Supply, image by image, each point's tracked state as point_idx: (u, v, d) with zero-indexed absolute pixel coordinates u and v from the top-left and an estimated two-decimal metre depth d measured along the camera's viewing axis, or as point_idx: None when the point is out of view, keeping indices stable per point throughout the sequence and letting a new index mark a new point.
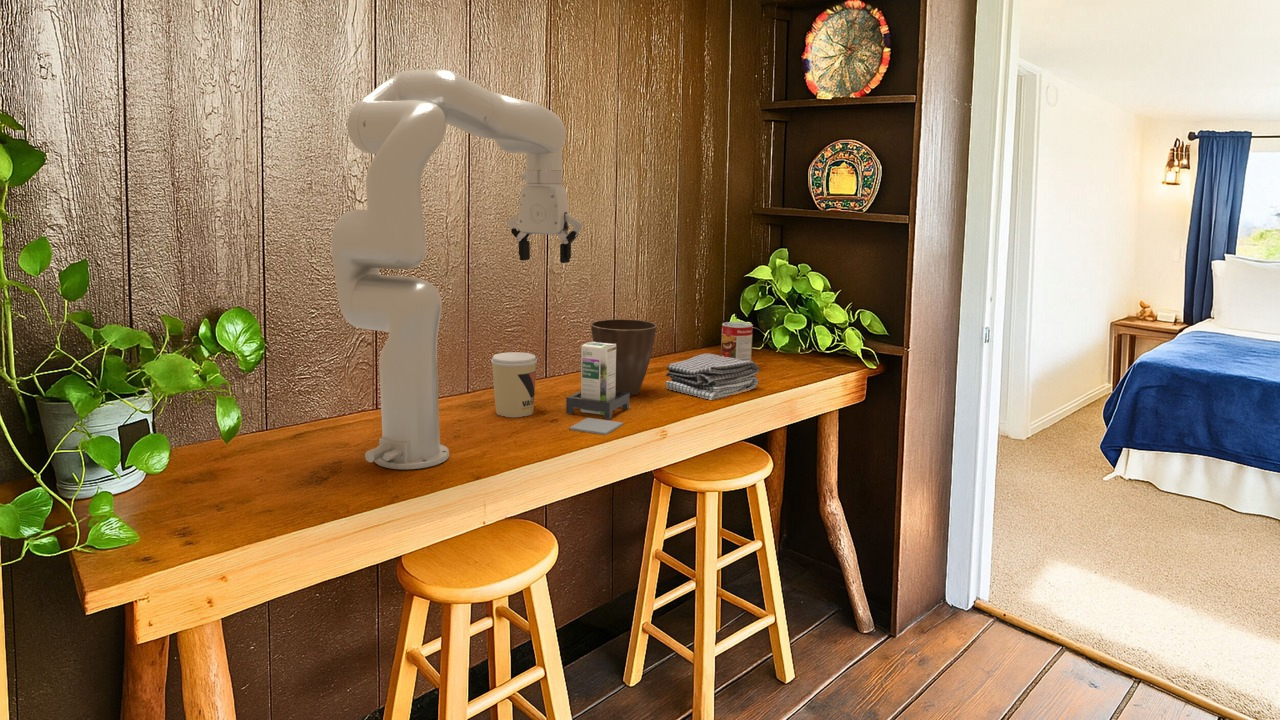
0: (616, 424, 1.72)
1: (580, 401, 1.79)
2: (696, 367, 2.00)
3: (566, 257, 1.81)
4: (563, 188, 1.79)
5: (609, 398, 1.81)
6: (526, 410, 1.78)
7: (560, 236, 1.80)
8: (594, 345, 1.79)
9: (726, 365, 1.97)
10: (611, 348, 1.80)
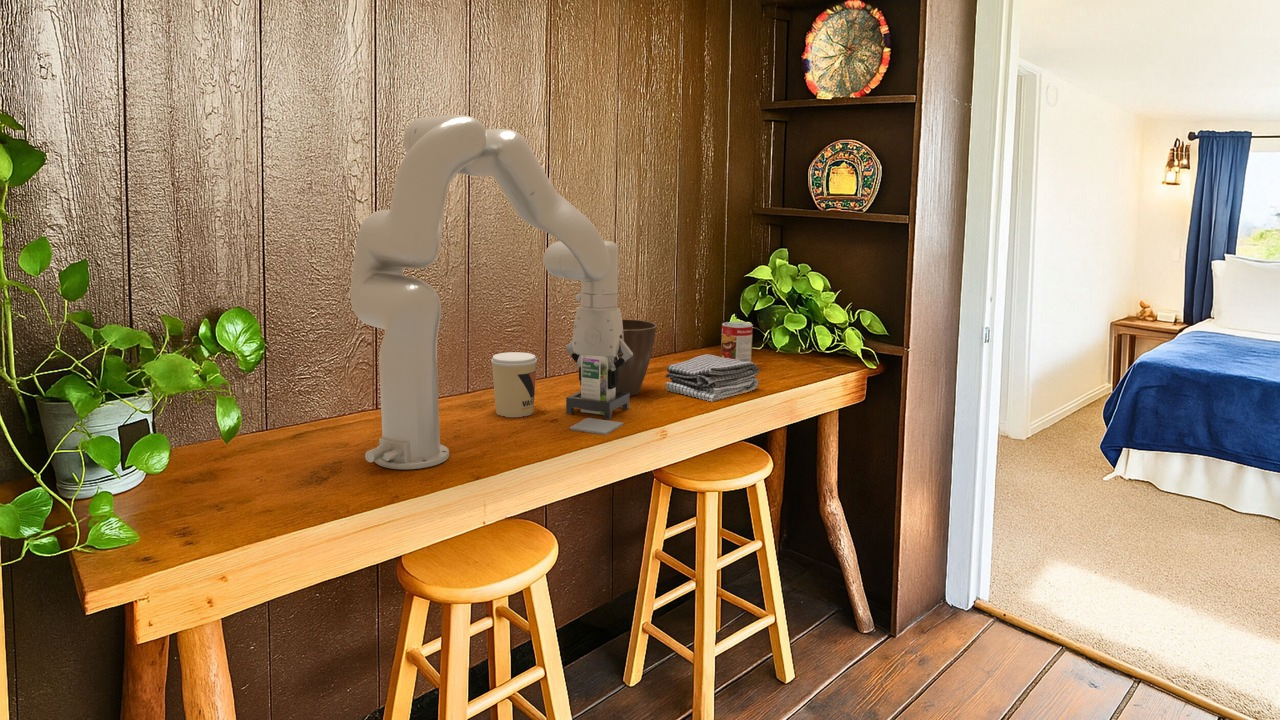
0: (616, 424, 1.72)
1: (580, 401, 1.79)
2: (696, 368, 1.99)
3: (614, 383, 1.80)
4: (619, 311, 1.77)
5: (609, 398, 1.81)
6: (526, 410, 1.78)
7: (609, 362, 1.78)
8: None
9: (726, 366, 1.96)
10: None
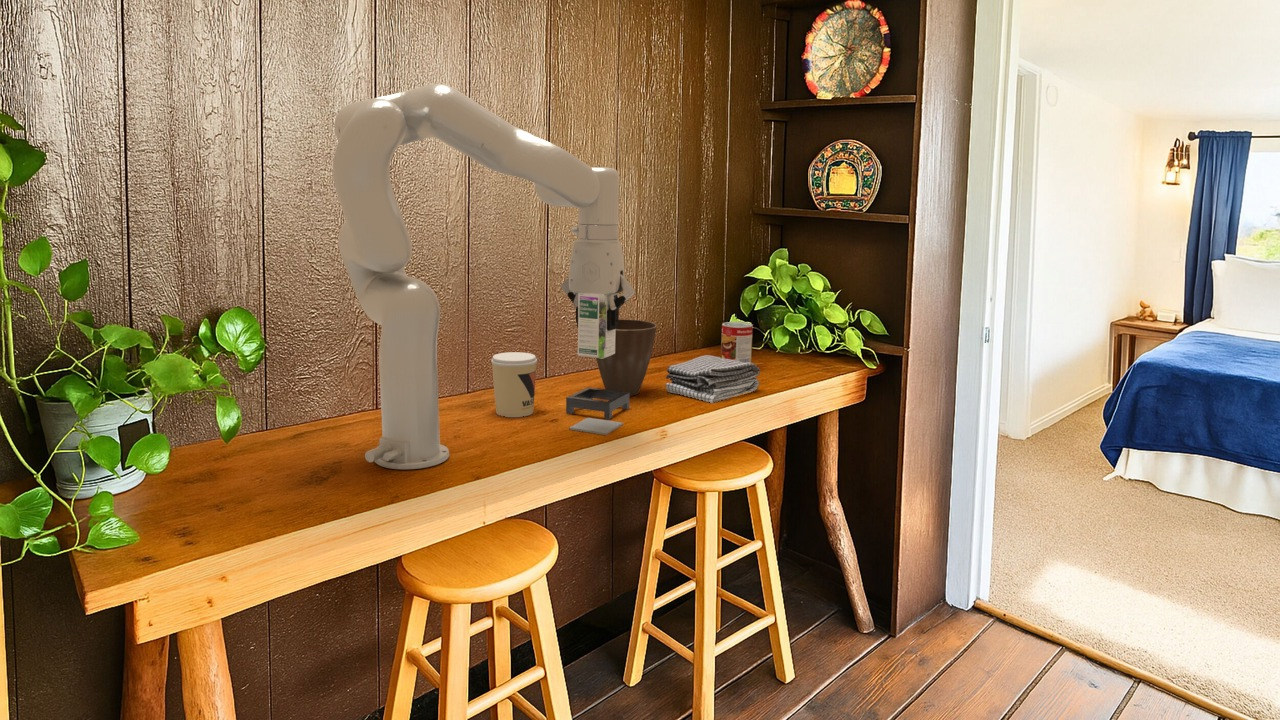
0: (616, 424, 1.72)
1: (580, 401, 1.79)
2: (697, 369, 1.98)
3: (613, 324, 1.65)
4: (619, 244, 1.62)
5: (608, 340, 1.66)
6: (526, 410, 1.78)
7: (609, 300, 1.64)
8: None
9: (727, 367, 1.95)
10: None
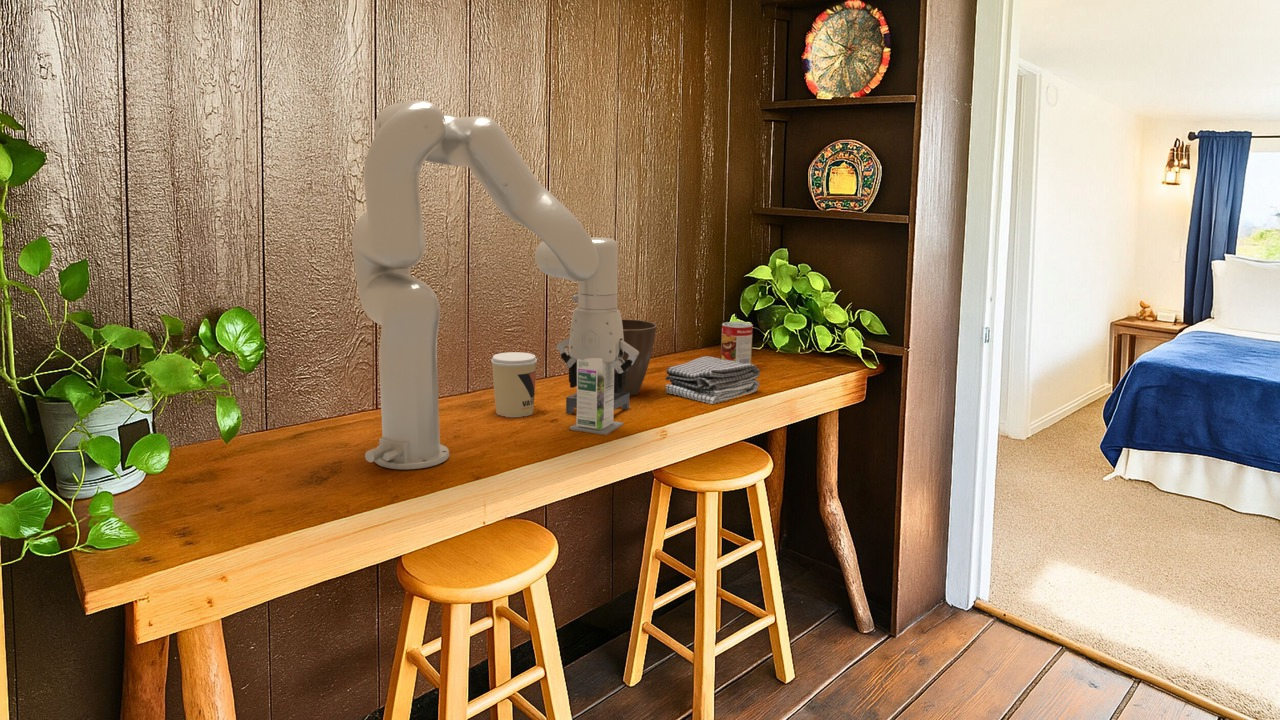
0: (616, 424, 1.72)
1: None
2: (697, 370, 1.97)
3: (620, 387, 1.67)
4: (618, 313, 1.65)
5: (607, 411, 1.69)
6: (526, 410, 1.78)
7: (614, 365, 1.66)
8: None
9: (727, 368, 1.93)
10: None
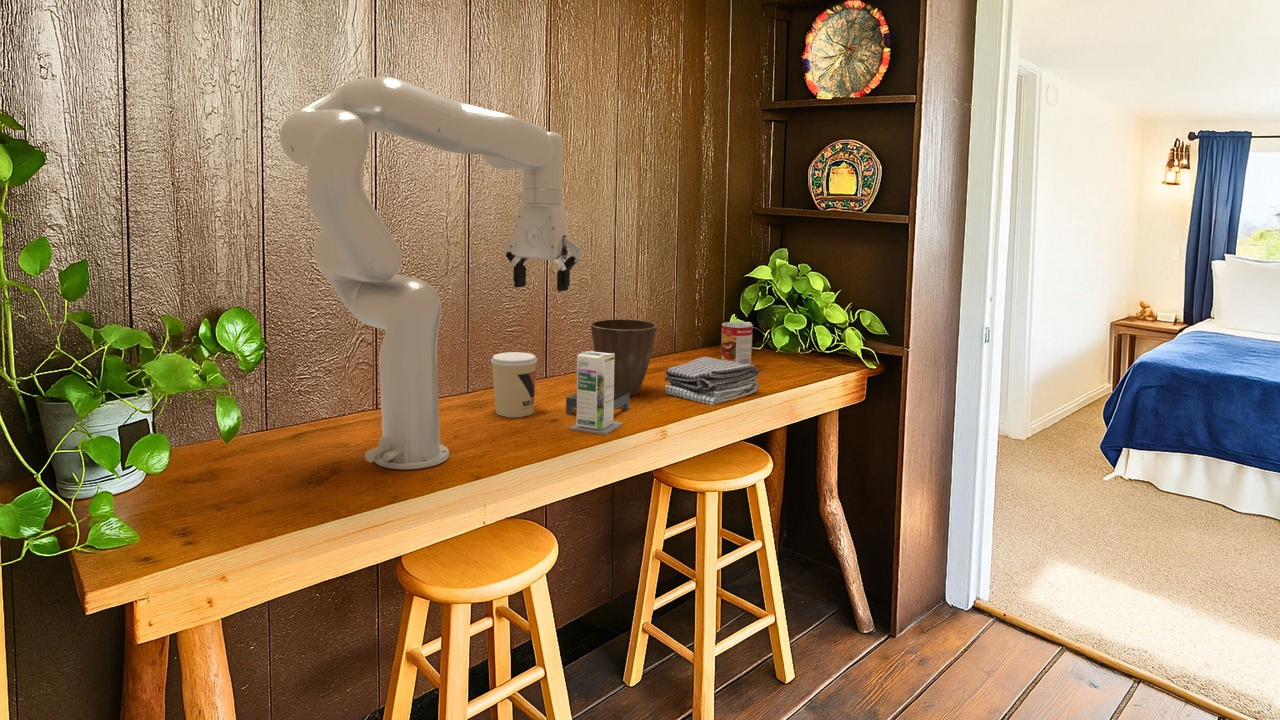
0: (616, 424, 1.72)
1: None
2: (696, 371, 1.96)
3: (564, 285, 1.64)
4: (562, 209, 1.62)
5: (607, 411, 1.69)
6: (526, 410, 1.78)
7: (557, 262, 1.63)
8: (591, 355, 1.67)
9: (727, 369, 1.93)
10: (609, 358, 1.68)
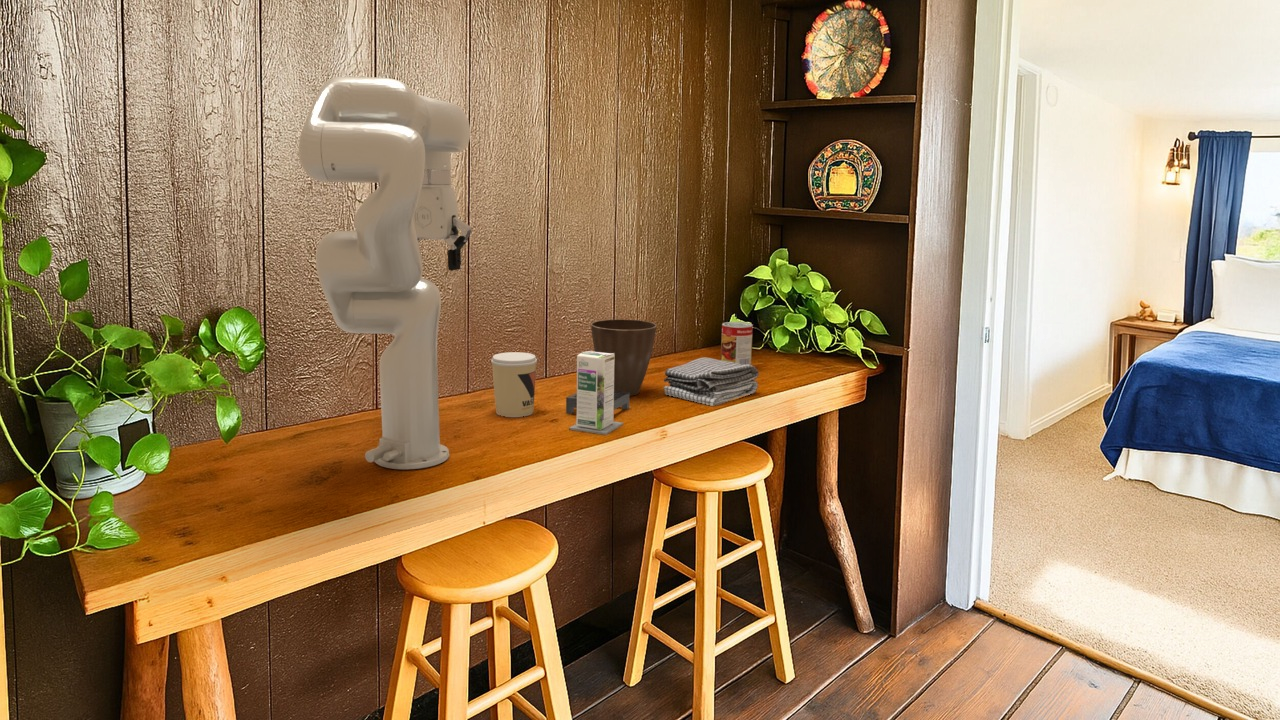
0: (616, 424, 1.72)
1: None
2: (696, 371, 1.95)
3: (455, 264, 1.67)
4: (451, 189, 1.65)
5: (607, 411, 1.69)
6: (526, 410, 1.78)
7: (448, 241, 1.66)
8: (591, 355, 1.67)
9: (726, 369, 1.92)
10: (609, 358, 1.68)
